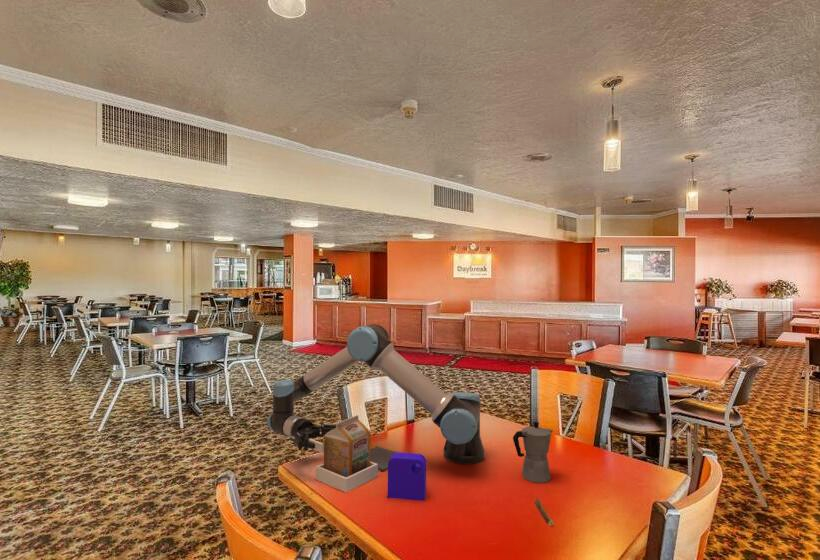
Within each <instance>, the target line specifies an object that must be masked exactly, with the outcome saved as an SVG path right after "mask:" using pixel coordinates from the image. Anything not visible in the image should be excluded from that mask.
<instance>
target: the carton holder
mask: <svg viewBox="0 0 820 560" xmlns="http://www.w3.org/2000/svg"><path fill="white" fill-rule="evenodd" d="M314 473H315V474H314V475H315V477H314V479H315V480H316V481H319V482H320V483H323V484H326V485H327V486H330V487H331V488H335V489H336V490H339V491H341V492H343V493H348V492H350V491H352V490H354V489H356V488H358V487H359V486H362V485H363V484H366V483H368V482H370V481H372V480H374V479H376V478H377V477H378V476H379V470H378V464H376V463H373V462H371V461H370V467H368V468H365V469H363V470H361V471H359V472H357V473H355V474H353V475H350V476H348V477H344V476H341V475H339V474H336V473H334V472H331V471H329V470H327V469H324V462H323V463H321V464H319V465H316V466H315V472H314Z"/></svg>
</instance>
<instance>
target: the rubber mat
mask: <svg viewBox="0 0 820 560" xmlns="http://www.w3.org/2000/svg"><path fill="white" fill-rule="evenodd" d="M394 453H396V451H393V450H390V449H387V448H384V447H381V446H378V445H376V446H374V447H370V461H371V462H373V463H376V464H378V471H380V472H385V471H388V463H389V460H390V458H391V456H392V455H393V454H394Z"/></svg>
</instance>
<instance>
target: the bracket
mask: <svg viewBox="0 0 820 560" xmlns="http://www.w3.org/2000/svg"><path fill="white" fill-rule="evenodd" d="M395 452H396V451H395ZM426 495H427V459H426V456H424V455H423V454H421V453H414V452H413V453H412V452H398V451H397V452H396V453H394V454H393V455H392V456H391V458H390V460H389V463H388V469H387V498H388V499H398V500H410V501H422V502H425V501H426Z"/></svg>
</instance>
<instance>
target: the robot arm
mask: <svg viewBox="0 0 820 560" xmlns="http://www.w3.org/2000/svg"><path fill="white" fill-rule="evenodd" d="M349 333H350V334H349V335H348V337H347V339H346V340H347V341H346V347H344V348H343V349H341V350H340V351H338V352H337V353H335V354H333V355H332V356H331V357H330V358H327V359H326V360H325V361H323V362H321V363H320V364H319V365H317V366H316V367H314V368H313V369H311V370H309V371H308V372H306V373H305V374H303V375H302V376H300V377H299V378H297V379H296V380H291V379H281V380H276V381H275V382H274V383H273V387H272V388H273V389H272V411H271V413H270V414H269V415H268V417H267V419H266V425H267V428H268V429H269V430H270V431H272V432H274V433H276V434H280V435H283V436H286V437H289V438H291V441H292V442H293V443H294V444H295V446H296V447H297V449H298V450H302V449H303V450H304V451H308V450H309V449H311V450H313V451H316V452H319V453H321V454H322V453H323V454H324V442H321V441H317V440H315V439H314V438H324V435H325V434H326V433H328V432H329V431H331V430H333V429H335V428H336V424H326V423H321V424H320V426H319V425H314V423H313V422H312V421H311V420H309V419H307V418H303V417H300V416H297V415H295V414H294V411H295V409H294V408H295V407H294V406H295V402H297V401H299V400H301V399H303V398H306V397H308V396H309V395H310V394H311V393H313V392H315V391H316V390H318V389H319V388H320V387H322V386H324V385H325V384H326V383H328V382H330V381H331V380H332V379H334V378H336V377H337V376H339V375H341V374H342V373H344V372H346V371H347V370H349V369H350V368H352V367H353V366H355V365H356V364H358V363H360V362H362V363H365V364H366V366H368V367H370V369H372V370H373V369H374V370H377V369H378V370H379V371H381V373H383V374H384V375H385V376H387V377H388V379H390V380H391V381H392V382H393V383H394V384H396V386H398V388H400V389H402V390H403V391H404V392H405V393H406V394H407V395H408V396H409V397H411V398H412V399H413V400H414V401H415V402H416V403H417V404H419V405H420V406H421V407H422V408H423V409H424V410H425V411H427V412H428V413H429V414H430V417H431V421H432V422H433V424H434V425H436V426H437V427H438V428H439V429H440V432H441V434H442V436H443V438H444V439H445V443H444V446H443V449H442V450H443V451H442V453H443V457H444V459H446V460H447V461H450V462H453V463H458V464H463V465H464V464H466V465H467V464H468V465H469V464H471V465H472V464H477V463H480V462H482V461H483V460H484V459H485V458H486V457H485V455H486V454H485V452H486V451H485V448H484V444H483V441H482V437H481V397H480V395H479V394H477V393H474V392H466V391H465V392H464V391H454V392H450V393H449V394H448V393H446V392H445V391H444V390H442V389H441V388H440V387H439V386H438V385H436V384H435V383H434V382H433V381H431V380H430V379H429V378H428V377H427V376H425V375H424V373H422V372H421V371H420V370H418V368H416V367H415V366H414V365H413V364H412V363H410V362H409V361H408V360H407V359H406V358H404V357H403V356H402V355H401V354H399V353H398V352H397V351H396V350H395V347H394V343H393V341H391V340H390V335H389V333H388V331H387V329H386V328H385V327H384V326H383V325H380V324H376V323H372V324H369V325H368V324H367V325H362V326H359V327H357V328H355V329H353V330H352V331H351V332H349Z"/></svg>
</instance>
